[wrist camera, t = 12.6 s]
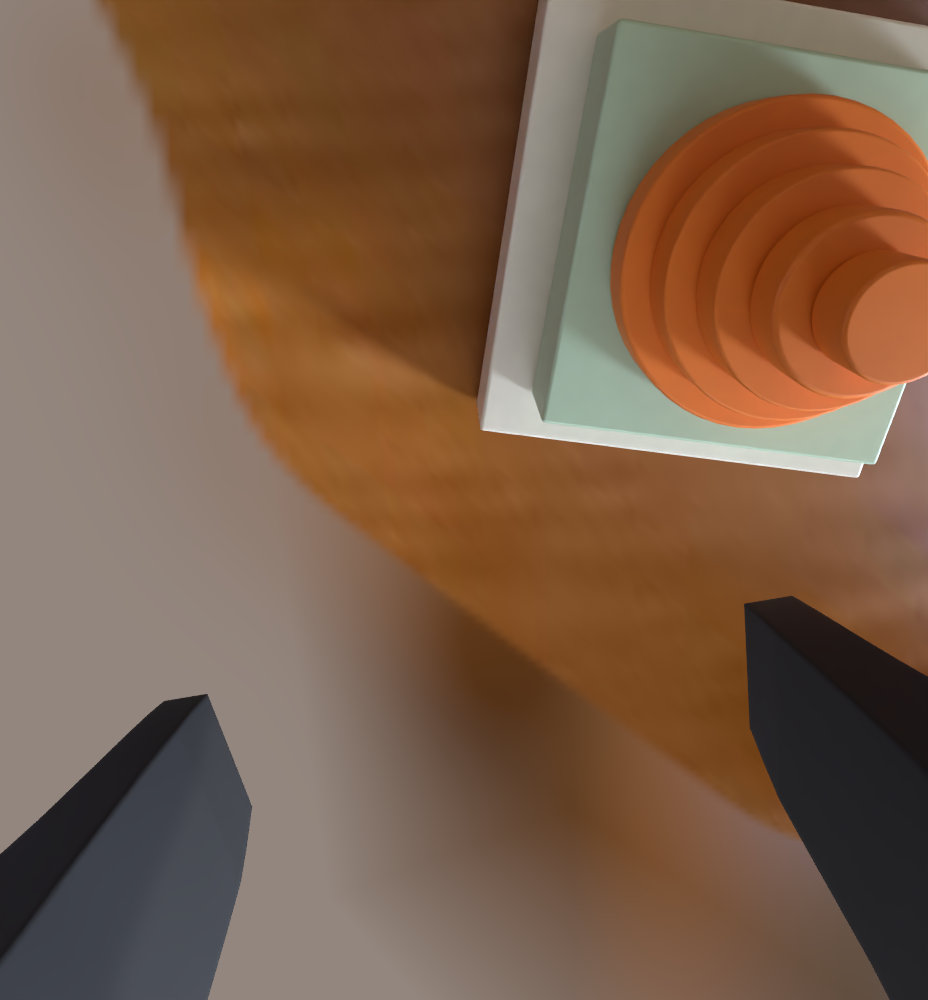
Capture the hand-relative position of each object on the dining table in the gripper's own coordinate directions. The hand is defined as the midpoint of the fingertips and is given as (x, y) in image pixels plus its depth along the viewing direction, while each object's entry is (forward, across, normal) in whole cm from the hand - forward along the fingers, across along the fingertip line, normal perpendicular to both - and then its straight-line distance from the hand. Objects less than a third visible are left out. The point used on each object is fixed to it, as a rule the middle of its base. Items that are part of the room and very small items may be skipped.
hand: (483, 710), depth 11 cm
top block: (+8, -6, -4) cm, 11 cm away
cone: (+6, -6, -4) cm, 10 cm away
